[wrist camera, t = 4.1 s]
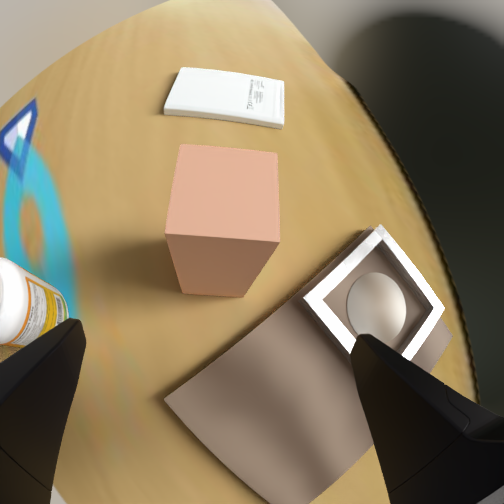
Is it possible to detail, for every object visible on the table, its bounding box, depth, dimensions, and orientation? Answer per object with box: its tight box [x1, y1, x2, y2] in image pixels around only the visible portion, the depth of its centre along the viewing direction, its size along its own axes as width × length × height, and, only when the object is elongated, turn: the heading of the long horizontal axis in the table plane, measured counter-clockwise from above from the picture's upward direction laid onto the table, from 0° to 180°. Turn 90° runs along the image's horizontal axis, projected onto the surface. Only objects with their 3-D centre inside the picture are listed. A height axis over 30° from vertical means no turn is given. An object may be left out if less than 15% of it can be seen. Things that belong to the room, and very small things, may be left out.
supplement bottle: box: [0, 258, 69, 348], centre depth 14 cm, size 5×5×10 cm
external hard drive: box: [164, 67, 284, 129], centre depth 29 cm, size 2×8×12 cm
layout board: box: [164, 224, 453, 504], centre depth 20 cm, size 22×14×2 cm, turn 130°
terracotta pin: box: [165, 144, 280, 297], centre depth 17 cm, size 4×4×11 cm
